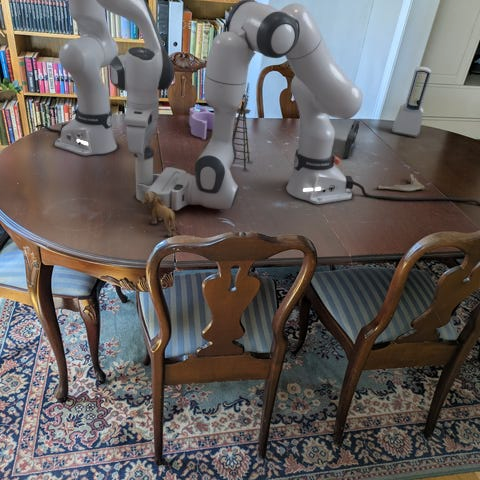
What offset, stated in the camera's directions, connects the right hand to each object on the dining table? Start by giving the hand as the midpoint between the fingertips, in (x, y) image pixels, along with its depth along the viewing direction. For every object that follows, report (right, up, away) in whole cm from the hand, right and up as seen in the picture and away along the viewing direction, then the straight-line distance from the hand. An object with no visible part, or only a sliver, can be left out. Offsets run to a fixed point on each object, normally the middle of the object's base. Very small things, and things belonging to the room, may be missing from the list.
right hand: (141, 181), depth 143 cm
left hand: (+2, +7, -5) cm, 9 cm away
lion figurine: (+8, -14, -11) cm, 20 cm away
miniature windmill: (+29, +10, +31) cm, 43 cm away
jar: (0, -5, +3) cm, 5 cm away
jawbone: (+88, +2, +28) cm, 92 cm away
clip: (+15, +29, +57) cm, 66 cm away
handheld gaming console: (+76, +20, +54) cm, 95 cm away
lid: (+2, +8, -5) cm, 10 cm away
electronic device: (+109, +33, +79) cm, 138 cm away
